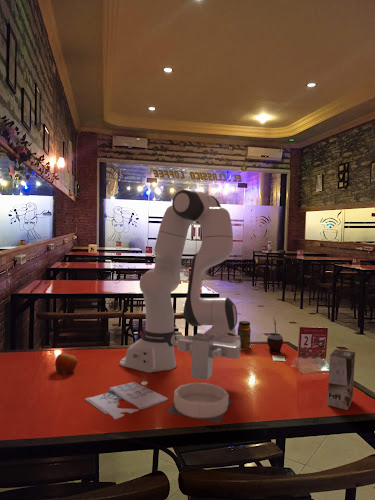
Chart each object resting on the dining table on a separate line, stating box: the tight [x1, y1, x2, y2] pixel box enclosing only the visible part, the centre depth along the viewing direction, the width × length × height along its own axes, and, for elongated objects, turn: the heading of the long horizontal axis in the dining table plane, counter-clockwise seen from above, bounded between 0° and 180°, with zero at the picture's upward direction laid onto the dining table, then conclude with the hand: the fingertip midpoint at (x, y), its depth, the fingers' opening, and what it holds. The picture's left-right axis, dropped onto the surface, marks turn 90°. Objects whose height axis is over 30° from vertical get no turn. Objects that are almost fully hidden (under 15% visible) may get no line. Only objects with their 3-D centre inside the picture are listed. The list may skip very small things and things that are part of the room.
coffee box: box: [326, 348, 356, 411], centre depth 125 cm, size 9×6×16 cm
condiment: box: [237, 320, 252, 351], centre depth 183 cm, size 7×8×12 cm
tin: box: [190, 332, 214, 381], centre depth 117 cm, size 5×5×12 cm
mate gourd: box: [266, 316, 284, 355], centre depth 178 cm, size 8×8×15 cm
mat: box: [166, 399, 233, 424], centre depth 118 cm, size 16×16×1 cm
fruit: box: [54, 352, 79, 375], centre depth 143 cm, size 8×8×8 cm
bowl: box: [173, 382, 230, 420], centre depth 118 cm, size 16×16×4 cm
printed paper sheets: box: [84, 381, 169, 420], centre depth 121 cm, size 19×20×2 cm
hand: (201, 353), depth 116 cm, fingers closed on tin, 5 cm apart
